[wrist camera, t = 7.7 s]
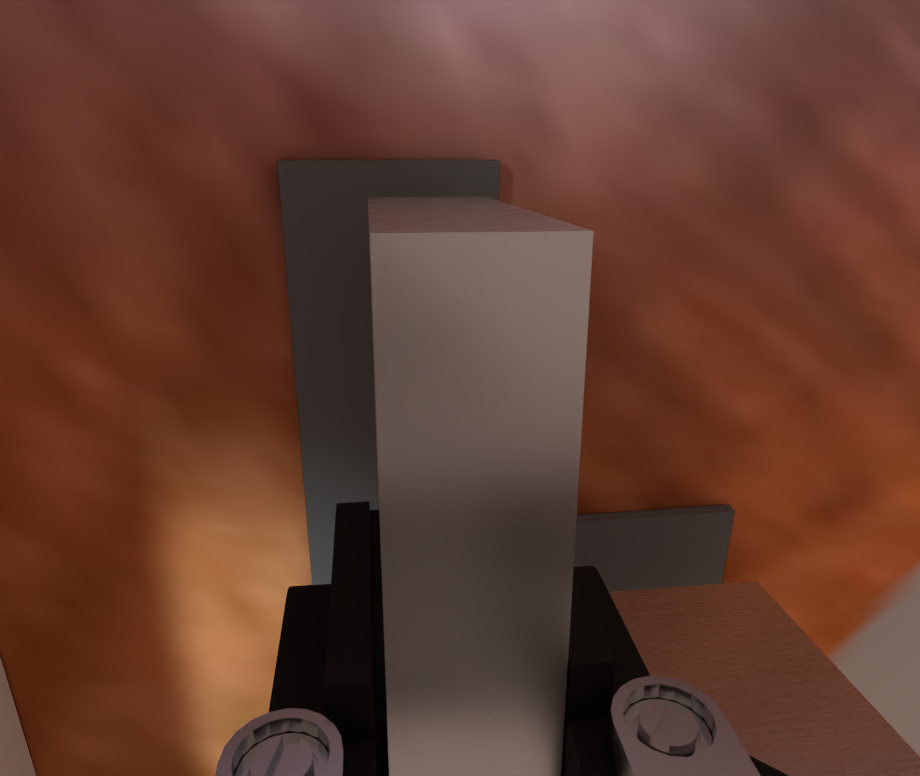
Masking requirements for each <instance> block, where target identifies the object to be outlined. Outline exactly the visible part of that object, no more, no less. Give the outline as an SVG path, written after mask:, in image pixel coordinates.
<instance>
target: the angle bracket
mask: <svg viewBox="0 0 920 776" xmlns="http://www.w3.org/2000/svg"><path fill="white" fill-rule="evenodd" d="M368 223H369V251H370V279H371V307H372V334H373V362H374V390H375V418H376V445H377V473H378V501H379V522H380V547H381V573H382V598H383V624H384V650H385V675H386V703H387V731H388V759H389V776H561V770H562V753H563V736H564V719H565V703H566V686H567V669H568V652H569V636H570V619H571V602H572V585H573V569H574V552H575V535H576V518H577V502H578V485H579V468H580V451H581V435H582V418H583V401H584V384H585V368H586V351H587V334H588V318H589V301H590V284H591V267H592V251H593V234H594V231H592V230H589V229H586V228H583V227H579V226H576V225H573V224H570V223H567V222H564V221H561V220H558V219H555V218H552V217H548V216H545V215H542V214H539V213H536V212H533V211H530V210H527V209H524V208H520V207H517V206H514V205H511V204H508V203H505V202H502V201H499V200H496V199H492V198H489V197H368ZM609 593H610V595H611V597H612V599H613V601H614V603H615V605H616V607H617V609H618V611H619V613H620V615H621V617H622V619H623V621H624V623H625V625H626V627H627V629H628V631H629V633H630V635H631V637H632V639H633V641H634V643H635V645H636V647H637V649H638V651H639V653H640V655H641V657H642V659H643V661H644V663H645V665H646V667H647V669H648V671H649V673H650V675H651V676H665V677H669V678H673V679H677V680H681V681H684V682H686V683H688V684H690V685H692V686H694V687H696V688H698V689H700V690H701V691H702V692H703V693H705V694H706V695H707V696H709V697H710V698H711V699H712V700H713V701H714V702H715V703H716V704H717V706H718V707H719V708H720V709H721V711H722V712H723V713H724V715H725V717H726V718H727V720H728V722H729V723H730V725H731V727H732V728H733V730H734V732H735V733H736V735H737V737H738V738H739V740H740V742H741V744H742V745H743V747H744V749H745V750H746V752H747V754H748V755H750V756H752V757H754V758H756V759H758V760H760V761H762V762H764V763H765V764H767V765H769V766H771V767H773V768H775V769H777V770H779V771H781V772H783V773H785V774H787V775H789V776H920V757H919V756H918V754H916V753H915V751H914V750H913V749H912V748H911V747H910V746H909V745H908V744H907V743H906V742H905V740H903V738H902V737H901V736H900V735H899V734H898V733H897V732H896V731H895V730H894V729H893V728H892V726H891V725H890V724H889V723H888V722H887V721H886V720H885V719H884V718H883V717H882V716H881V714H880V713H879V712H878V711H877V710H876V709H875V708H874V707H873V706H872V705H871V704H870V703H869V702H868V700H867V699H866V698H864V696H863V695H862V694H861V693H860V692H859V691H858V690H857V689H856V688H855V687H854V685H853V684H852V683H851V682H850V681H849V680H848V679H847V678H846V677H845V676H844V675H843V674H842V672H841V671H840V670H839V669H838V668H837V667H836V666H835V665H834V664H833V663H832V662H831V660H830V659H829V658H828V657H827V656H826V655H825V654H824V653H823V652H822V651H821V650H820V649H819V647H818V646H817V645H816V644H815V643H814V642H813V641H812V640H811V639H810V638H809V637H808V636H807V635H806V633H805V632H804V631H803V630H802V629H801V628H800V627H799V626H798V625H797V624H796V623H795V622H794V620H793V619H792V618H791V617H790V616H789V615H788V614H787V613H786V612H785V611H784V610H783V609H782V607H781V606H780V605H779V604H778V603H777V602H776V601H775V600H774V599H773V598H772V597H771V596H770V595H769V593H768V592H767V591H766V590H765V589H764V588H763V587H762V586H761V585H760V584H759V583H758V582H757V581H751V582H737V583H724V584H710V585H696V586H683V587H669V588H655V589H642V590H628V591H614V592H609Z"/></svg>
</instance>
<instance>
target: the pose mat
mask: <svg viewBox="0 0 920 776" xmlns="http://www.w3.org/2000/svg"><path fill="white" fill-rule="evenodd" d="M277 165H278V177H279V189H280V201H281V213H282V225H283V237H284V249H285V261H286V273H287V285H288V297H289V309H290V321H291V333H292V345H293V357H294V369H295V381H296V393H297V405H298V417H299V429H300V441H301V453H302V465H303V478H304V490H305V502H306V514H307V526H308V538H309V550H310V562H311V574H312V585H320V584H331V577H332V562H333V547H334V532H335V517H336V504H337V503H348V502H366V501H369V502H370V510H379V501H378V473H377V445H376V418H375V390H374V362H373V334H372V307H371V279H370V251H369V223H368V197H489V198H492V199H496V200H498V193H499V161H498V160H278V161H277ZM734 513H735V511H734V510H733V508H732V507H731V506H730V505H714V506H700V507H686V508H672V509H658V510H644V511H630V512H616V513H602V514H588V515H577V518H576V535H575V552H574V567H578V566H594V567H596V569H597V570H598V572H599V573H600V575H601V577H602V579H603V581H604V583H605V585H606V587H607V589H608V591H609V592H614V591H628V590H642V589H655V588H669V587H683V586H696V585H710V584H721V583H722V578H723V573H724V567H725V562H726V556H727V551H728V546H729V540H730V535H731V530H732V524H733V519H734Z"/></svg>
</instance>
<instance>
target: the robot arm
mask: <svg viewBox="0 0 920 776" xmlns="http://www.w3.org/2000/svg"><path fill="white" fill-rule="evenodd" d="M215 776H389V759H388V731H387V703H386V675H385V650H384V624H383V598H382V573H381V547H380V522H379V510H370V502H369V501H366V502H348V503H337V504H336V517H335V532H334V547H333V562H332V577H331V584H320V585H306V586H291V587H289V589H288V592H287V597H286V604H285V610H284V617H283V623H282V630H281V636H280V643H279V649H278V656H277V662H276V669H275V675H274V682H273V688H272V695H271V701H270V708H269V712H268V713H266V714H264V715H262V716H259V717H257V718H255V719H253V720H251V721H250V722H248V723H247V724H246V725H244V726H243V727H242V728H240V729H239V730H238V731H236V733H235V734H234V735H233V736H232V738H231V739H230V740H229V741H228V743H227V744H226V745H225V747H224V749H223V751H222V754H221V756H220V759H219V761H218V765H217V769H216V774H215ZM561 776H789V775H787V774H785V773H783V772H781V771H779V770H777V769H775V768H773V767H771V766H769V765H767V764H765V763H764V762H762V761H760V760H758V759H756V758H754V757H752V756H750V755H748V754H747V752H746V750H745V749H744V747H743V745H742V744H741V742H740V740H739V738H738V737H737V735H736V733H735V732H734V730H733V728H732V727H731V725H730V723H729V722H728V720H727V718H726V717H725V715H724V713H723V712H722V711H721V709H720V708H719V707H718V706H717V704H716V703H715V702H714V701H713V700H712V699H711V698H710V697H709V696H707V695H706V694H705V693H703V692H702V691H701V690H700V689H698V688H696V687H694V686H692V685H690V684H688V683H686V682H684V681H681V680H677V679H673V678H669V677H665V676H651V675H650V673H649V671H648V669H647V667H646V665H645V663H644V661H643V659H642V657H641V655H640V653H639V651H638V649H637V647H636V645H635V643H634V641H633V639H632V637H631V635H630V633H629V631H628V629H627V627H626V625H625V623H624V621H623V619H622V617H621V615H620V613H619V611H618V609H617V607H616V605H615V603H614V601H613V599H612V597H611V595H610V593H609V591H608V589H607V587H606V585H605V583H604V581H603V579H602V577H601V575H600V573H599V572H598V570H597V569H596V567H594V566H578V567H574V569H573V585H572V602H571V619H570V636H569V652H568V669H567V686H566V703H565V719H564V736H563V753H562V770H561Z"/></svg>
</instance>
